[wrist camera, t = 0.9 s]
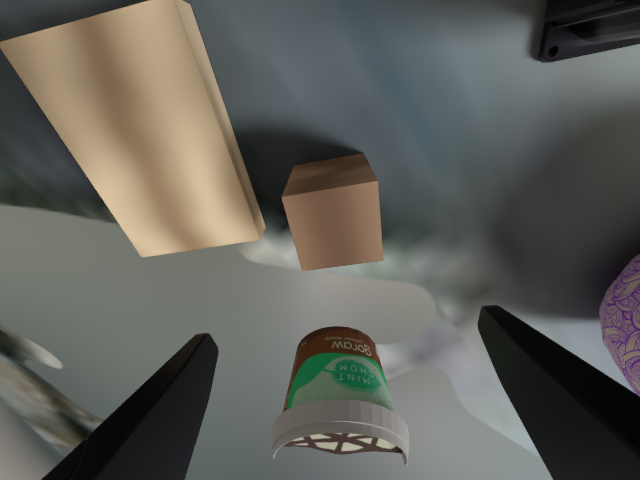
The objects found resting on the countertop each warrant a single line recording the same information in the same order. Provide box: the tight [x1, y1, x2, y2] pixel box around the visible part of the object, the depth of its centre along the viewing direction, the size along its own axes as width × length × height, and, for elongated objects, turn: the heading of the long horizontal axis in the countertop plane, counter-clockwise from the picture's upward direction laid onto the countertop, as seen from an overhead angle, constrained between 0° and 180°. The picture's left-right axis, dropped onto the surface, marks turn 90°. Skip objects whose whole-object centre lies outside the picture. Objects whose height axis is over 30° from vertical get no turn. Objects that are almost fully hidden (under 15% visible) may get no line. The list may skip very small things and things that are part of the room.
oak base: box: [0, 0, 266, 257], centre depth 17 cm, size 10×14×2 cm
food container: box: [272, 327, 409, 466], centre depth 24 cm, size 12×6×10 cm, turn 86°
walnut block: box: [282, 153, 383, 271], centre depth 17 cm, size 5×5×6 cm
